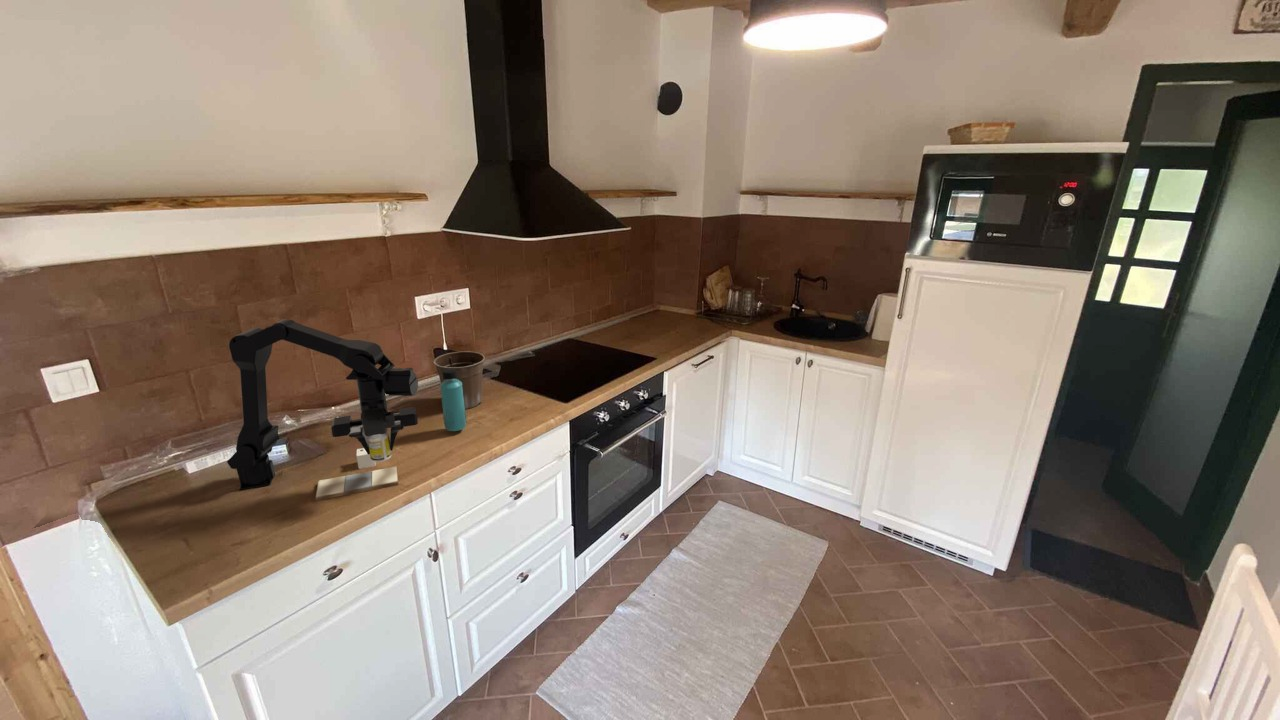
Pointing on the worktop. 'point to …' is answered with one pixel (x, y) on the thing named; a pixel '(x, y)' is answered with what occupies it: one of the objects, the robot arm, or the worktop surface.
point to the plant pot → (464, 373)
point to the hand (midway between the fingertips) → (380, 451)
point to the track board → (356, 483)
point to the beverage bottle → (452, 401)
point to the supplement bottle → (379, 447)
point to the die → (364, 459)
